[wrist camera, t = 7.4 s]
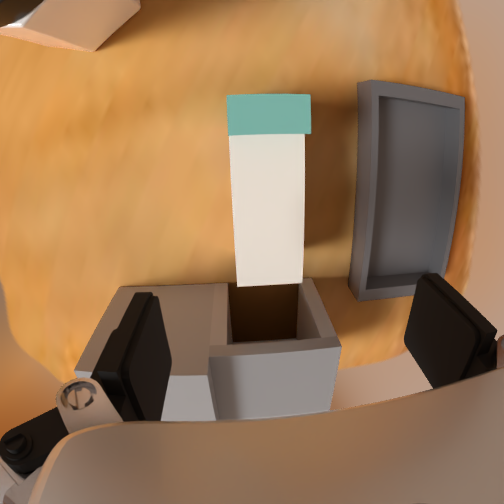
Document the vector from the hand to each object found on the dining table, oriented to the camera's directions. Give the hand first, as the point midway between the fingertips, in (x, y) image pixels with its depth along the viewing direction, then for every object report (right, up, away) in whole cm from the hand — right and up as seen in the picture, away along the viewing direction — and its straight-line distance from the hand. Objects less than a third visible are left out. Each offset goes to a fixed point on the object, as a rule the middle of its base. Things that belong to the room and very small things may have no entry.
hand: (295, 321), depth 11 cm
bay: (-4, -3, +16) cm, 17 cm away
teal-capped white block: (-1, +6, +12) cm, 13 cm away
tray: (+10, +7, +12) cm, 17 cm away
